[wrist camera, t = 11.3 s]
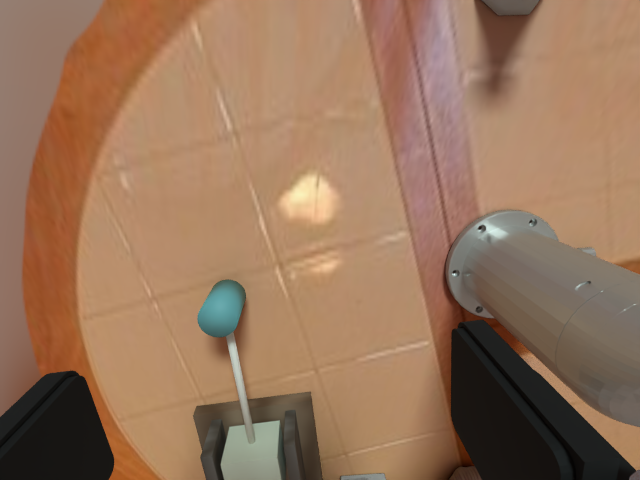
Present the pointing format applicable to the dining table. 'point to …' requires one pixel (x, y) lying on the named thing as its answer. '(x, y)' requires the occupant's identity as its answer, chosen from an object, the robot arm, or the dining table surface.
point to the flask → (511, 6)
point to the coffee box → (364, 477)
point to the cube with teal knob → (242, 396)
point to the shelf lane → (286, 408)
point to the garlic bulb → (466, 474)
